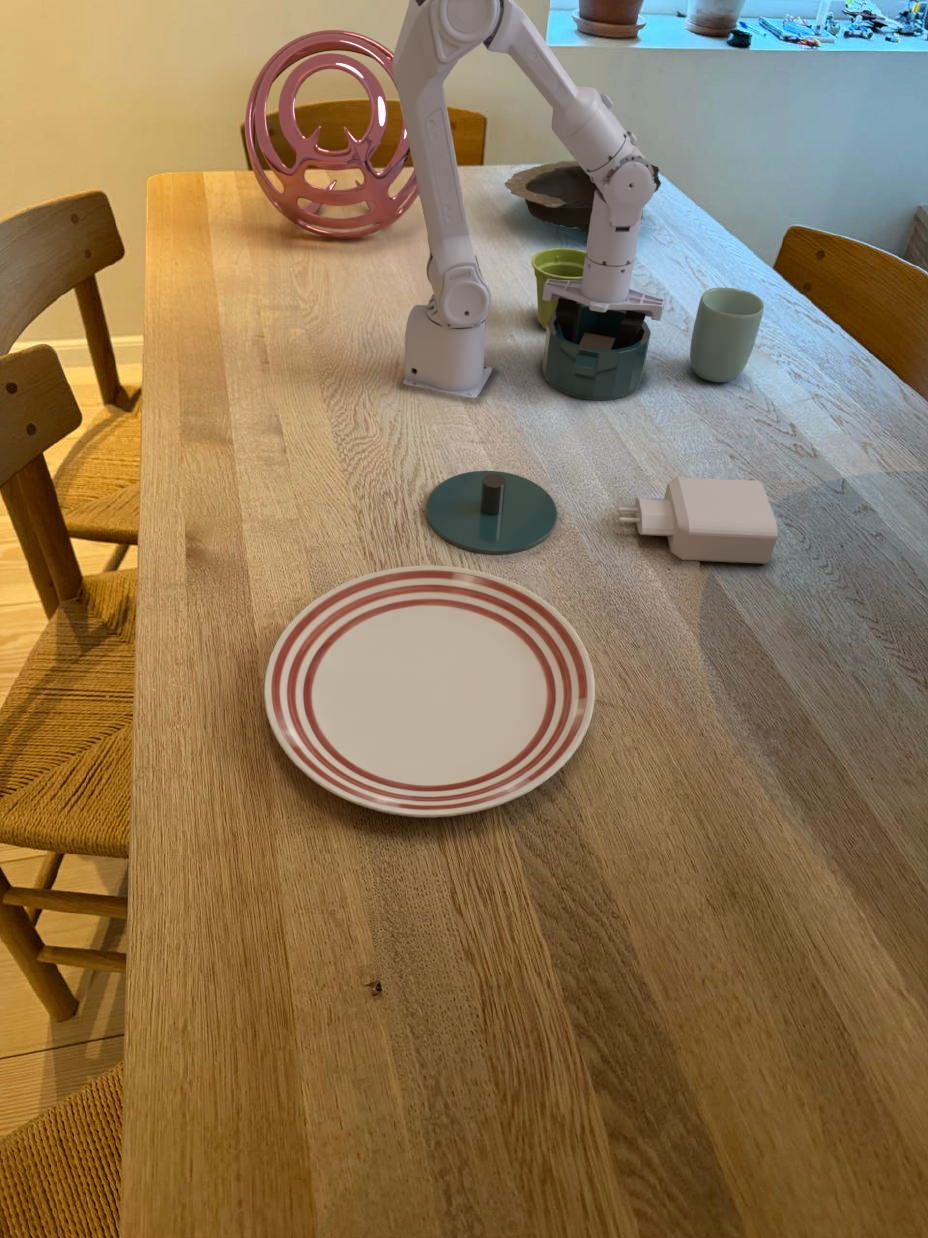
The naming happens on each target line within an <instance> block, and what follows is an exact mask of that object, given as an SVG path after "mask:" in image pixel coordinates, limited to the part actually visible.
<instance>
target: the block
mask: <svg viewBox="0 0 928 1238" xmlns="http://www.w3.org/2000/svg"><path fill="white" fill-rule="evenodd" d="M615 339H616V338H613V337H607V336H602V335H597V334H591V333H586V332H585V333H584V335H583V337H582V339H581V342H580V344H579V346H582V347H588V348H593V349H598V350H614V345H615Z"/></svg>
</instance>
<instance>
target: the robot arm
mask: <svg viewBox="0 0 928 1238" xmlns="http://www.w3.org/2000/svg"><path fill="white" fill-rule="evenodd" d="M405 12H406V13H405V15H404V18H403V22H402V25H401V29H400V33H399V34H398V35H399V36H398V38H397V42H396V45H395V48H394V51H393V53H394V55H393V59H392V63H393V73H394V77H395V82H396V87H397V89H396V92H397V91H398V92H397V96H398V101H399V105H400V106H399V107H400V109H401V114H402V115H401V116H402V121H403V120H404V124H405V129H406V134H407V139H408V143H409V148H410V157H411V162H412V166H413V171H414V172H415V176H416V181H417V185H416V186H418V190H419V195H418V196H419V200H420V203H421V204H420V205H421V210H422V214H423V218H424V222H425V227H426V233H427V243H428V249H429V253H428V254H429V255H428V260H427V263H426V269H425V270H426V277H427V280H428V282H429V284H430V286H431V289H432V293H433V294H432V295H431V296H430V299H429V301H428V303H427V304H415V305H413V306H412V308H411V310H410V312H409V315H408V316H407V321H406V325H405V332H404V380H403V381H402V384H403V385H407V386H410V387H411V386H412V387H416V388H422V389H426V390H431V391H435V392H439V393H440V392H441V393H445V394H450V395H456V396H461V397H464V398H465V397H466V398H470V399H476V398H477V397H478V396H479V395H480V393H481V392H482V390H483V389H484V387H485V385H486V383H487V382H488V380H489V378H490V376H491V375H492V373H493V367H491V366H488V365H485V351H486V337H487V336H486V335H487V321H488V313H489V312H490V309H491V307H492V297H493V296H492V292H491V290H490V287H489V285H488V284H487V282H486V280H485V278H484V275H483V274H482V272H481V268H480V264H479V260H478V257H477V255H476V253H475V249H474V246H473V242H472V238H471V233H470V228H469V223H468V218H467V217H468V216H467V213H466V206H465V200H464V195H463V189H462V184H461V179H460V174H459V173H460V172H459V168H458V162H457V161H458V160H457V155H456V150H455V146H454V139H453V134H452V128H451V123H450V118H449V111H448V107H447V101H446V95H445V89H444V82H445V80H446V79H447V77H449V74H450V73H451V72H452V71H453V69H454V68H455V66H456V65H457V64H458V62H459V61H460V60H461V59H462V58H463V57H465V56H466V55H467V54H469V53H470V52H471V51H473V50H474V49H475V48H477V47H479V46H480V45H481V44H483V45H484V47H485V48H486V50H487V51H489V52H492V53H493V52H495V53H499V54H500V53H501V54H507V55H508V56H510V58H511V59H512V61H514V62H515V64H516V65H517V66H518V67H519V68H520V70H521V71H522V72H523V73H524V75H525V76H526V77H527V78H528V80H529V81H530V82H531V83H532V84H533V86H534V87H535V89H537V91H538V92H539V93H540V94H541V95H542V97H543V98H544V99H545V101H546V102H547V103H548V104H549V106H550V107H551V108H552V116H551V130H552V132H553V133H554V134H555V135H556V137H557V138H558V139H559V141H560V143H562V145H563V146H564V147H565V148H566V150H567V151H568V152H569V153H570V155H571V156H572V158H573V159H574V161H577V162H578V164H579V165H580V166H581V167H582V169H583V170H584V171H585V173H586V174H588V175H589V176H590V179H591V182H593V183H595V185H596V186H597V187H598V189H599V190H600V191H598V190H595V194H594V202H593V209H592V213H591V219H590V226H589V233H587V234H588V235H587V242H586V249H585V252H586V255H585V262H584V269H583V277H582V281H571V280H553V279H547V281H546V283H545V284H544V290H543V299H542V300H545V301H551V300H552V299H554V300H558V304H557V308H556V310H555V314H556V318H557V320H558V322H559V324H560V327H561V330H562V333H563V337H564V339H566V340H567V341H570V342H572V343H574V344H576V341H577V328H578V322H579V316H580V311H581V306H582V305H587V306H589V309H590V310H592V311H597V312H606V311H607V310H614V311H620V312H625V315H624V317H623V319H622V321H621V325H620V334H619V342H618V348H617V349H621V348H625V347H628V346H629V344H630V343H631V341H632V340H633V338H634V337H635V336H636V334H637V333H638V332H639V330H640V329H641V327H642V325H643V322H644V321H645V319H646V317H648V318H650V319H651V320H652V321H656V322H661V319H662V318H663V313H664V308H665V303H666V299H664V298H661V297H656V296H652V295H649V294H646V293H644V292H641V291H638V290H636V289H632V288H631V287H630V286H631V282H632V281H631V280H632V274H633V270H634V264H635V258H636V252H637V247H638V241H639V235H640V231H641V230H640V229H641V225H642V220H641V216H642V217H643V214H642V210H643V211H644V207H645V206H646V205H647V204H648V203H649V201H651V199H652V198H653V196H654V194H655V193H656V192H655V189H656V183H654V177H653V174H654V172H653V169H652V166H651V165H652V164H651V163H650V162H649V161H648V159H647V158H646V157H645V156H644V155H643V153H642V152H641V151H640V150H639V149H638V148H637V147H636V144H635V143H636V142H638V141H637V140H638V139H637V137H636V135H634V133H633V132H632V131H631V130H627V131H626V130H625V129H624V127H623V125H622V124H621V122H620V121H619V120H618V119H617V117H616V116H615V114H614V113H613V112H612V110H611V108H612V107H613V106H614V102H613V101H612V100H611V98H610V96H608V94H607V93H606V92H605V91H602V92H601V93H599V92H598V90H597V89H596V88H594V87H592V86H580V85H579V86H577V85H576V84H575V83H574V81H573V80H572V78H571V77H570V76H569V74H568V73H567V71H566V70H565V68H564V67H563V65H562V64H561V62H560V60H558V58H557V57H556V55H555V54H554V52H553V51H552V49H551V48H550V46H549V44H548V43H547V42H546V41H545V39H544V38H543V37H542V35H541V34H540V32H539V31H538V29H537V28H536V26H535V25H534V23H533V22H532V20H531V19H530V18H529V16H528V15H527V13H526V12H525V11H524V10H523V9H522V7H520V5H519V4H518V3H517V2H516V1H514V0H408V5H407V9H406V11H405ZM396 87H395V88H396ZM650 164H651V165H650ZM654 192H655V193H654Z"/></svg>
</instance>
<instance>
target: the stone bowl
mask: <svg viewBox="0 0 928 1238" xmlns="http://www.w3.org/2000/svg"><path fill="white" fill-rule="evenodd" d="M650 165H651V166H652V169H653V172H654V174H653V177H654V183H656V189H655V192H654V194H655V193H656V192H657V191H658V190H659V188H660V187H661V185H662V181H661V180H660V178H659V177H660V175H659V172H660V168H659V167H658V166H657V165H653V164H651V163H650ZM504 186H505V188H506V189H508V190H509V191H510V194H511V195H513V196H516V197H518V198H522V199H524V202H525V205H526V208H527V211H528V213H529V214H530V216H532V217H533V218H535V219H537V220H540V221H542V222H543V223H547V224H548V225H553V226H558V227H560V226H561V227H563V228H565V229H579V230H580V231H581V232H582V233H584V234H588V233H589V226H590V219H591V213H592V209H593V202H594V194H595V190H598V191H600V190H599V189H598V187H597V186H596V185H595V183H593V182H591V179H590V176H589V175H588V174H586V173H585V171H584V170H583V169H582V167H581V166H580V165H579V164H578V162H577V161H576V160H572V161H571V160H570V161H569V160H565V161H564V160H562V161H558V162H550V163H544V164H540V165H537V166H533V167H531V168H528V169H524V170H521V171H518V172H516V173H513V175H512V176H511V178H508V179H507V180H506V182H504ZM643 213H644V209H643V210H642V216H641V221H642V219H643Z"/></svg>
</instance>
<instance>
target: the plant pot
mask: <svg viewBox="0 0 928 1238" xmlns="http://www.w3.org/2000/svg"><path fill="white" fill-rule="evenodd" d="M585 255H586V250H585V251H584V250H580V249H576V248H567V247H555V248H547V249H543V250H540V251H538V252H537V253H535V254H534V255H533V256H532V257H531V266H532V268H533V271H534V276H535V280H536V298H537V300H536V301H537V321H538V324H540V325H541V327H542V328H543V329H544V330H546V328H547V322H548V320H549V318H550V317H551V315H552V314H553V313H555V310H556V308H557V304H558V300H554V299H552V300H551V301H545V300H542V299H543V290H544V284H545V283H546V281H547V279H553V280H571V281H582V277H583V269H584V262H585Z"/></svg>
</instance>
